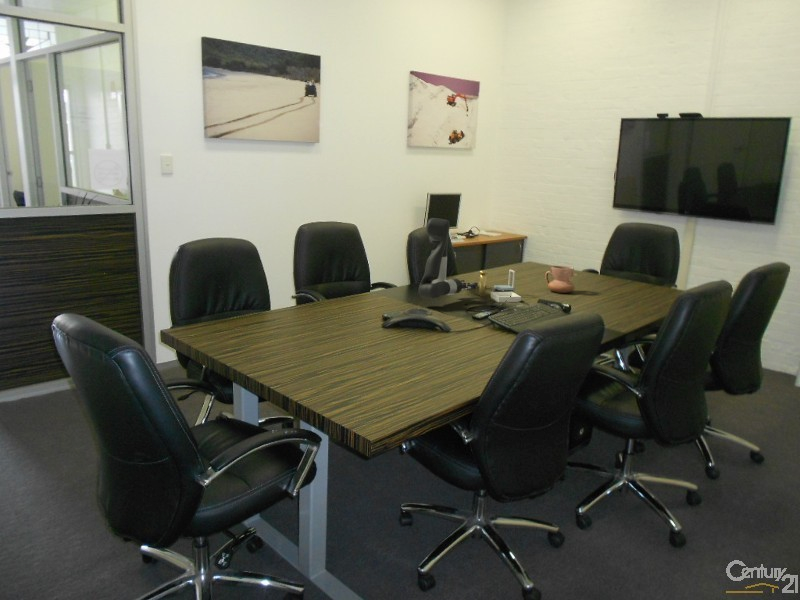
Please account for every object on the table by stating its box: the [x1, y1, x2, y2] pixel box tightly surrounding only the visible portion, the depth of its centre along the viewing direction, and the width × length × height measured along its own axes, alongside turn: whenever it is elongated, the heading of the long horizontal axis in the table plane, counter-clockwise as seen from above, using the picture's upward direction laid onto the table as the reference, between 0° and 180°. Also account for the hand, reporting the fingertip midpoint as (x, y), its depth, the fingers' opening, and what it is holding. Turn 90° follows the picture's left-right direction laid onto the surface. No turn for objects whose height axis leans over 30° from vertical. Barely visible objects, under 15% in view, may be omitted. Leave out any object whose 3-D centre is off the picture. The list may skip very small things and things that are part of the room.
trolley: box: [492, 269, 516, 294], centre depth 316 cm, size 10×7×14 cm
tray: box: [490, 291, 522, 303], centre depth 306 cm, size 12×12×3 cm
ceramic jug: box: [544, 265, 578, 294], centre depth 330 cm, size 18×14×14 cm
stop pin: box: [478, 270, 489, 297], centre depth 314 cm, size 5×5×13 cm
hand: (470, 283), depth 305 cm, fingers open, 8 cm apart
